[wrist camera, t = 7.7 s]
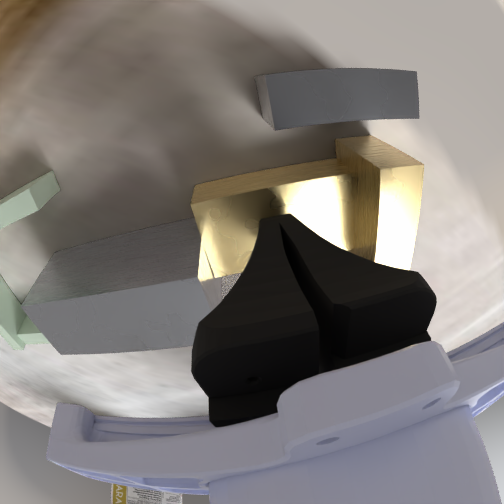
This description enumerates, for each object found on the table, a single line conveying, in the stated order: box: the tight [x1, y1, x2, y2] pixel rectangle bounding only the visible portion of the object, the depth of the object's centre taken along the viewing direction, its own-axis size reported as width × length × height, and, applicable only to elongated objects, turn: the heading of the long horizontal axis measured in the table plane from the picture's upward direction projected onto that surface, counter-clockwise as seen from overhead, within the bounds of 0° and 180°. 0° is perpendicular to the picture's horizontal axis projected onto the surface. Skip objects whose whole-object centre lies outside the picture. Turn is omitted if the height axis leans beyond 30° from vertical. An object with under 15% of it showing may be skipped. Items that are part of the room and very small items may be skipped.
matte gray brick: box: [21, 217, 222, 355], centre depth 13 cm, size 4×10×5 cm, turn 99°
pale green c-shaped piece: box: [0, 170, 60, 350], centre depth 13 cm, size 10×12×3 cm
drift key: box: [190, 135, 424, 278], centre depth 12 cm, size 6×9×4 cm, turn 100°
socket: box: [255, 68, 419, 130], centre depth 13 cm, size 13×6×3 cm, turn 10°
